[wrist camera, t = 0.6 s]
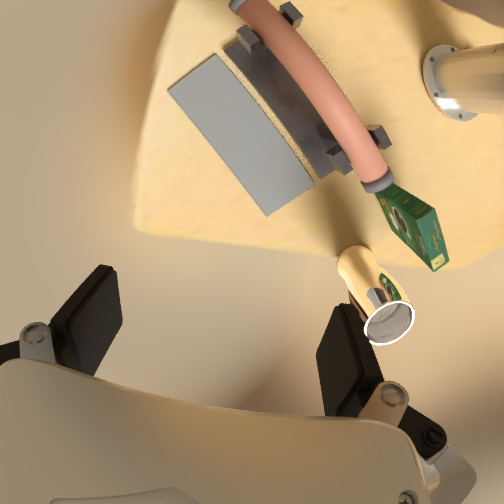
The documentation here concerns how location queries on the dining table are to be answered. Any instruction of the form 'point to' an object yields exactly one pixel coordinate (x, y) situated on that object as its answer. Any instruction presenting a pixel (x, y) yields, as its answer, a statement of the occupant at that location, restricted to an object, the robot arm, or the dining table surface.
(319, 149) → the hook stand
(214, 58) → the mat
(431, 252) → the coffee box
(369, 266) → the beer glass
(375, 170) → the rod
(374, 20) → the dining table surface
